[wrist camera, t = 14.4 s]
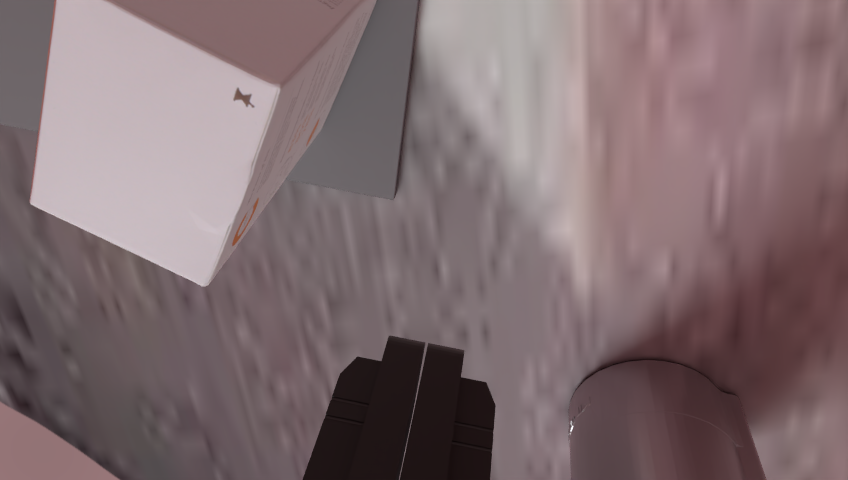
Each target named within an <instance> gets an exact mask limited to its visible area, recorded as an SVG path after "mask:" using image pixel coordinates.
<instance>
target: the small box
mask: <svg viewBox="0 0 848 480" xmlns="http://www.w3.org/2000/svg"><path fill="white" fill-rule="evenodd" d="M376 1H377V0H55V1H54V10H53V18H52V26H51V34H50V42H49V50H48V57H47V66H46V74H45V84H44V92H43V98H42V106H41V115H40V122H39V130H38V140H37V147H36V155H35V164H34V171H33V178H32V187H31V195H30V200H29V202H30V203H31V204H32V205H33V206H35V207H37V208H39V209H41V210H43V211H46V212H48V213H50V214H52V215H54V216H56V217H58V218H60V219H62V220H64V221H67V222H69V223H71V224H73V225H75V226H78V227H80V228H82V229H84V230H86V231H88V232H90V233H92V234H94V235H96V236H98V237H101V238H103V239H105V240H107V241H109V242H111V243H113V244H115V245H117V246H119V247H122V248H124V249H126V250H128V251H130V252H132V253H134V254H136V255H139V256H141V257H143V258H145V259H147V260H149V261H151V262H153V263H155V264H157V265H160V266H162V267H164V268H166V269H168V270H170V271H172V272H174V273H176V274H178V275H180V276H183V277H185V278H187V279H189V280H191V281H193V282H195V283H197V284H199V285H201V286H207V285H209V283H210V282H211V281H212V279H213V278H214V277H215V275H216V274H217V273H218V271H219V270H220V269H221V267H222V266H223V265H224V263H225V262H226V261H227V259H228V258H229V256H230V255H231V254H232V252H233V251H234V250H235V248H236V247H237V245H238V244H239V242H240V241H241V240H242V238H243V237H244V236H245V234H246V233H247V231H248V230H249V229H250V227H251V226H252V225H253V223H254V222H255V220H256V219H257V218H258V216H259V215H260V213H261V212H262V211H263V209H264V208H265V207H266V205H267V204H268V202H269V201H270V200H271V198H272V197H273V196H274V194H275V193H276V192H277V190H278V189H279V187H280V186H281V184H282V183H283V182H284V180H285V179H286V177H287V176H288V175H289V173H290V172H291V170H292V169H293V168H294V166H295V165H296V163H297V162H298V161H299V159H300V158H301V157H302V155H303V154H304V152H305V151H306V150H307V148H308V147H309V146H310V144H311V143H312V142H313V140H314V139H315V138H316V136H317V135H318V134H319V132H320V131H321V129H322V127H323V125H324V123H325V121H326V118H327V116H328V114H329V112H330V109H331V107H332V105H333V103H334V100H335V98H336V96H337V93H338V91H339V89H340V86H341V84H342V82H343V79H344V77H345V75H346V72H347V70H348V68H349V65H350V63H351V61H352V58H353V56H354V54H355V51H356V49H357V47H358V44H359V42H360V39H361V37H362V35H363V32H364V30H365V28H366V25H367V23H368V21H369V18H370V16H371V13H372V11H373V9H374V6H375V4H376Z"/></svg>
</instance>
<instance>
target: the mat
mask: <svg viewBox="0 0 848 480" xmlns="http://www.w3.org/2000/svg"><path fill="white" fill-rule="evenodd" d="M54 1H55V0H0V124H1V125H7V126H12V127H17V128H22V129H27V130H32V131H38V130H39V122H40V115H41V106H42V98H43V92H44V84H45V74H46V66H47V57H48V50H49V42H50V34H51V26H52V18H53V10H54ZM418 8H419V0H377V1H376V4H375V6H374V9H373V11H372V13H371V16H370V18H369V21H368V23H367V25H366V28H365V30H364V32H363V35H362V37H361V39H360V42H359V44H358V47H357V49H356V51H355V54H354V56H353V58H352V61H351V63H350V65H349V68H348V70H347V72H346V75H345V77H344V79H343V82H342V84H341V86H340V89H339V91H338V93H337V96H336V98H335V100H334V103H333V105H332V107H331V109H330V112H329V114H328V116H327V118H326V121H325V123H324V125H323V127H322V129H321V131H320V132H319V134H318V135H317V136H316V138H315V139H314V140H313V142H312V143H311V144H310V146H309V147H308V148H307V150H306V151H305V152H304V154H303V155H302V157H301V158H300V159H299V161H298V162H297V163H296V165H295V166H294V168H293V169H292V170H291V172H290V173H289V175H288V176H287V177H286V180H291V181H297V182H302V183H307V184H312V185H317V186H323V187H328V188H333V189H338V190H343V191H348V192H354V193H359V194H364V195H369V196H374V197H379V198H385V199H390V200H394V198H395V195H396V189H397V181H398V173H399V164H400V156H401V148H402V140H403V131H404V123H405V115H406V107H407V99H408V90H409V82H410V74H411V66H412V58H413V49H414V41H415V33H416V25H417V17H418Z"/></svg>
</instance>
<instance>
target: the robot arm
mask: <svg viewBox="0 0 848 480" xmlns="http://www.w3.org/2000/svg"><path fill="white" fill-rule="evenodd" d="M424 347H425V343H424V342H419V341H414V340H409V339H404V338H399V337H394V336H389V338H388V341H387V344H386V348H385V351H384V355H383V358H382V361H377V360H372V359H367V358H362V357H357V358H356V359H355V360H354V361H353V362H352V363H351V364H350V365H349V366H348V367H347V368H346V369H345V370H344V371H343V372H342V373H340V376H339V378H338V381H337V384H336V387H335V390H334V393H333V395H332V400H331V401H330V404H329V407H328V410H327V412H326V416H325V419H324V421H323V424H322V426H321V429H320V432H319V435H318V438H317V441H316V443H315V446H314V449H313V452H312V455H311V458H310V460H309V463H308V466H307V469H306V472H305V474H304V477H303V480H399V476H400V471H401V466H402V462H403V457H404V452H405V447H406V443H407V438H408V433H409V428H410V423H411V419H412V414H413V408H414V403H415V398H416V392H417V387H418V381H419V375H420V370H421V364H422V359H423V353H424ZM463 357H464V350H460V349H455V348H450V347H445V346H440V345H435V344H430V343H428V347H427V352H426V357H425V361H424V366H423V371H422V376H421V381H420V385H419V390H418V395H417V400H416V405H415V409H414V414H413V419H412V424H411V429H410V433H409V438H408V443H407V448H406V453H405V457H404V462H403V467H402V472H401V477H400V480H490V472H491V458H492V453H491V452H492V445H493V430H494V417H495V403H494V401H493V398H492V396H491V393H490V391H489V388H488V386H487V383H486V382H481V381H476V380H471V379H467V378H462V377H461V372H462V365H463ZM568 413H569V431H568V432H569V447H570V465H571V480H766V477H765V474H764V471H763V468H762V465H761V462H760V459H759V456H758V453H757V450H756V447H755V444H754V441H753V438H752V435H751V432H750V429H749V426H748V423H747V420H746V417H745V414H744V412H743V409H742V406H741V403H740V400H739V397H738V396H736V395H732V394H727V393H724V392H721V391H720V390H719V389H718V388H717V387H716V386H715V385H714V384H713V383H712V382H711V381H710V380H709V379H708V378H706V377H705V376H703V375H701V374H700V373H698V372H697V371H695V370H693V369H690V368H688V367H685V366H683V365H680V364H675V363H671V362H666V361H656V360H640V361H629V362H624V363H621V364H617V365H613V366H610V367H608V368H605V369H603V370H601V371H598V372H597V373H595V374H594V375H592V376H591V377H589V378H588V379H586V380H585V381H584V382H583V383H582V384H581V385H580V386H579V387H578V388H577V389H576V391H575V393H574V395H573V397H572V398H571V401H570V406H569V410H568Z"/></svg>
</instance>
